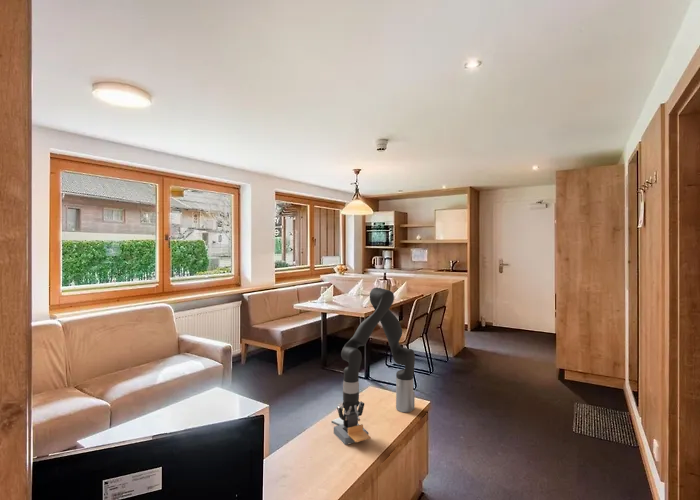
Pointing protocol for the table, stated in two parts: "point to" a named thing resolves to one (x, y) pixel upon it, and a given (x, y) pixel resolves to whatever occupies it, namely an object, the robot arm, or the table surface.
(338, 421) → the hard drive
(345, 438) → the socket
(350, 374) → the robot arm
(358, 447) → the table surface
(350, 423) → the plug
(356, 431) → the panel
